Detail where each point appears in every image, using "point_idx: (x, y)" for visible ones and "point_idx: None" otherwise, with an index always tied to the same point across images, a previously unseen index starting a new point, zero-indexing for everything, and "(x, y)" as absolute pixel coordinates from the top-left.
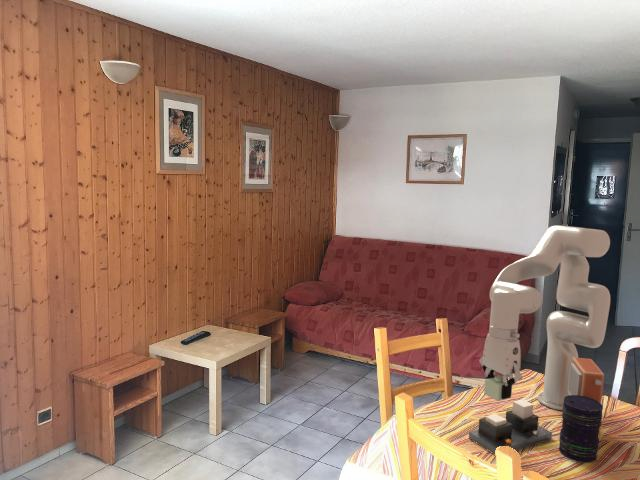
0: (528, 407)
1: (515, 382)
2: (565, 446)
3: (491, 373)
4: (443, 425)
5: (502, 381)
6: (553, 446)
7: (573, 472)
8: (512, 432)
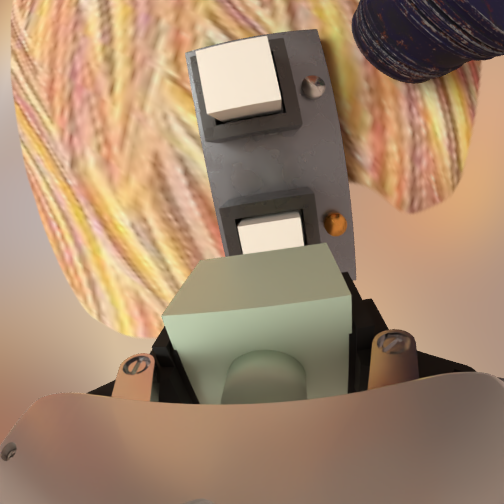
0: (273, 69)
1: (448, 364)
2: (420, 77)
3: (161, 398)
4: (159, 307)
5: (306, 380)
6: (355, 65)
7: (465, 132)
8: (280, 157)
